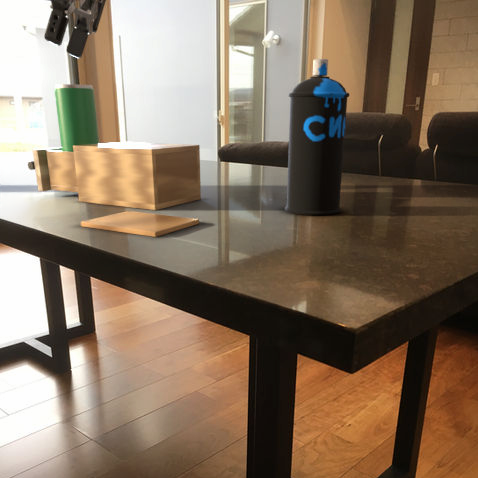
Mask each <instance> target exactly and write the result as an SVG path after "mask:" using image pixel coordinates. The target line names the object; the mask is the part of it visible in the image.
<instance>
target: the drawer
mask: <svg viewBox="0 0 478 478" xmlns="http://www.w3.org/2000/svg"><path fill="white" fill-rule="evenodd" d="M32 156H33V160H32V161H28V162H27V168H28V169H29V170H31V171H35V177H36V184H37V190H38V192H48V191H61V192H69V193H71V192H72V193H78V186H77V177H76V168H75V159H74V152H69V151H62V149H61V146H58V147H45V148H32Z"/></svg>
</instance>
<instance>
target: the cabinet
mask: <svg viewBox="0 0 478 478" xmlns="http://www.w3.org/2000/svg"><path fill="white" fill-rule="evenodd" d="M200 147H201V145H200V144H188V143H187V144H184V143H163V142H162V143H161V142H160V143H159V142H133V141H121V142H106V143H99V144H90V145H75V146H73V150H74V159H75V168H76V177H77V186H78V192H77V194H78V195H77V196H78V201H79V202H81V203H89V204H99V205H105V206H115V207H122V208H123V207H124V208H134V209H142V210H150V211H157V210H161V209H165V208H166V209H167V208H170V207H174V206H179V205H183V204H186V203H190V202H195V201H199V200H201V199H202V191H201V190H202V188H201V187H202V186H201V153H200V152H201V151H200V150H201V149H200Z"/></svg>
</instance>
